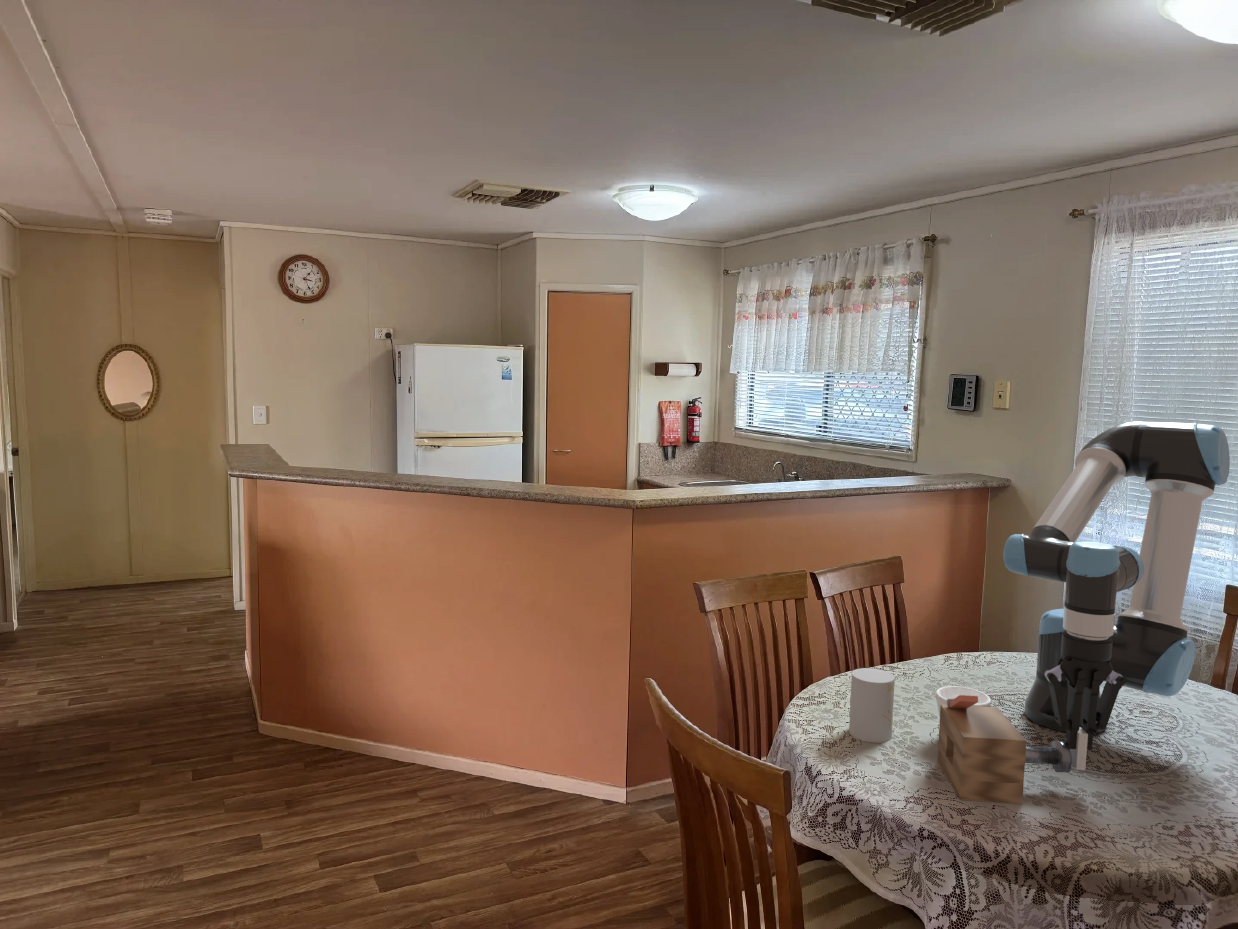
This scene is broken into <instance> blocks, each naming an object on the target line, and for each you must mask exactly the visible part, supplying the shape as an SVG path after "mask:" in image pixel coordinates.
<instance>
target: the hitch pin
mask: <svg viewBox="0 0 1238 929" xmlns="http://www.w3.org/2000/svg"><path fill="white" fill-rule="evenodd" d="M1025 764H1036V765H1037V764H1039V765H1049V766H1050V765H1051V767H1052V769H1053V771H1054V772H1056V773H1062V774H1065V773H1066V774H1069V773H1070V772H1071V770H1072V767H1073V766H1072V756H1071V751H1070V748H1069V746H1068V744H1067V743H1066V740H1052V741H1051V742H1050V745H1049V747H1048V746H1047V747H1046V746H1045V747H1043V746H1031V745H1030V746H1028V745H1026V755H1025Z"/></svg>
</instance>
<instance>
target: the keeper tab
mask: <svg viewBox="0 0 1238 929" xmlns="http://www.w3.org/2000/svg"><path fill="white" fill-rule="evenodd" d="M977 702H978V696H966V695H959V696H958V697H956V698H954V699H947V706H948V708H960V709H967V708H969V707H971V706H972V705H974V704H976V703H977Z"/></svg>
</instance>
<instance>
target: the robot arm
mask: <svg viewBox="0 0 1238 929" xmlns="http://www.w3.org/2000/svg"><path fill="white" fill-rule="evenodd" d="M1230 457H1231V456H1230V448H1229V443H1228V438H1227V436H1226V433H1225V431H1224V430H1223V428H1221V427H1220V426H1218V425H1213V424H1205V423H1204V424H1202V423H1198V422H1193V423H1192V422H1191V423H1187V422H1186V423H1185V422H1167V421H1166V422H1163V421H1161V422H1160V421H1145V420H1134V421H1127V422H1124V423H1120V424H1117V425H1114V426H1113V427H1112V426H1111V427H1110V428H1108V429H1106V430H1104V431H1103V432H1101V433H1099V434H1097V435H1096V436H1095V437H1094V438H1093V437H1092V439H1091V440H1089V442H1087V443H1086V444H1085V445H1084V446H1083V447H1082V448H1081V450H1080V451H1079V453H1078V454H1077V456H1076V458H1075V461H1074V465H1075V466H1074V467H1075V468H1074V469H1073V470H1072V472H1071V473H1070V474H1069V476H1068V477H1067V479H1066V480H1065V482H1064V483H1063V484H1062V486H1061V488H1060V489H1059V490H1058V492H1057V493H1056V495H1055V496H1054V497H1053V499H1052V500H1051V502H1050V503H1049V505H1048V507H1046V509H1045V511H1044V512H1043V514H1042V515H1041V517H1040V518H1039V519H1038V521H1037V523H1035V525H1034V526H1033V528H1032V529H1031V530H1030V531H1029V533H1028V534H1025V533H1022V534H1019V533H1017V534H1015V533H1014V534H1012V535H1010V536H1009V537H1008V538H1006V541H1005V544H1004V546H1003V551H1002V552H1003V554H1002V558H1003V563H1004V566H1005V568H1006V569H1007V570H1008V571H1009V572H1011V573H1014V574H1019V575H1022V576H1026V577H1033V578H1038V579H1043V580H1044V579H1045V580H1050V581H1057V582H1063V583H1065V594H1064V596H1065V597H1064V604H1063V608H1056V609H1050V610H1048V611H1045V612H1044V613H1043V614H1042V616H1041V617H1040V621H1039V630H1038V631H1037V635H1038V641H1037V658H1036V673H1035V680H1034V682H1033V684H1032V686H1031V687H1030V690H1029V692H1028V695H1027V697H1026V699H1025V702H1024V710H1023V711H1024V715H1025V716H1026V717H1027V718H1028V719H1030V720H1031V721H1033V722H1034V723H1036V724H1038V725H1040V726H1043V727H1046V728H1048V729H1051V730H1056V731H1059V732H1060V731H1061V732H1065V735H1066V737H1065V742H1066V743H1067V744H1068V746H1069V748H1070V751H1071V756H1072V766H1071V767H1073V768H1074V770H1076V771H1086V766H1087V765H1086V763H1087V753H1088V752H1087V751H1092V748H1093V741H1094V740H1093V739H1094V736H1095V735H1097V734H1098V733H1101V732H1103V731H1105V730H1106V729H1107V726H1108V724H1109V721H1110V718H1111V715H1112V712H1113V709H1114V706H1115V704H1116V701H1117V697H1118V695H1119V692H1120V690H1122V688H1123V687H1125V688H1130V689H1134V690H1137V691H1141V692H1143V693H1146V694H1153V695H1159V696H1162V697H1163V696H1164V697H1172V696H1176V695H1177V694H1178V693H1179V692H1180V691H1181V690H1182V689H1183V688H1184V686H1185V685H1186V683H1187V681H1188V679H1189V678H1190V675H1191V672H1192V670H1193V667H1194V662H1195V658H1196V656H1195V655H1196V649H1197V648H1196V643H1195V642H1194V640H1192V639H1191V638H1189V637H1188V628H1187V627H1186V626H1185V624H1184V622H1183V621H1181V620H1182V619H1181V615H1182V611H1183V607H1184V606H1183V605H1184V601H1185V600H1184V599H1185V595H1186V590H1187V584H1188V580H1189V574H1190V570H1191V563H1192V558H1193V553H1194V547H1195V542H1196V537H1197V531H1198V528H1199V521H1200V516H1201V511H1202V506H1203V502H1204V501H1205V500H1206V499H1208V498H1210V497H1211V496H1214V493H1215V488H1216V486H1221V485H1225V484H1226V483H1227V482H1228V478H1229V476H1230V468H1231V467H1230V465H1231V464H1230V462H1231V461H1230V459H1231V458H1230ZM1128 477H1134V478H1135V477H1137V478H1145V480H1144V485H1145V487H1146V488H1147V489H1148V490H1149V491H1150V498H1149V505H1148V509H1147V514H1146V519H1145V525H1144V530H1143V537H1142V541H1141V546H1140V551H1139V553H1138V552H1137V551H1136V550H1135V549H1133V548H1130V547H1128V546H1125V545H1112V544H1110V543H1104V542H1098V541H1087V540H1086V541H1077V540H1078V539H1079V537H1080V535H1081V534H1082V533H1083V531H1084V529H1085V528H1086V527H1087V524H1089V521H1090V520H1091V519H1092V517H1093V515H1094V514H1095V513H1096V511H1097V509H1098V508H1099V506H1100V505H1101V503H1102V502H1103V501H1104V499H1105V497H1107V494H1108V492H1110V490H1111V488H1112V487H1115V486H1117V485H1119V484H1120V483H1121V482H1122V481H1123V480H1124V479H1125V478H1128ZM1130 588H1132V591H1131V597H1130V601H1129V607H1128V608H1127V609H1126V610H1123V612H1121V613H1119V614H1118V616H1117V620H1116V623H1115V616H1116V604H1117V603H1116V601H1117V593H1119V592H1121V591H1126V590H1128V589H1130ZM1104 682H1105V683H1104ZM1103 683H1104V686H1103V689H1102V691H1100V690H1101V685H1102V684H1103Z"/></svg>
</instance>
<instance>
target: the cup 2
mask: <svg viewBox="0 0 1238 929" xmlns="http://www.w3.org/2000/svg"><path fill="white" fill-rule="evenodd" d="M959 695H966V696H978V702H977V703H976V704H974V705H972V706H979V707H991V704H992V699H991V698H990V697H989V695H988V694H986V693H985V692H983V691H980V690H977V689H975V688H971V687H966V686H956V685H954V686H953V685H949V686H942V687H940V688H937V689H936V691H935V699H936V700H935V701H936V704H937V710H938V715H939V717H940V707H941V704H942V705H947V699H954V698H956V697H958V696H959Z"/></svg>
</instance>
